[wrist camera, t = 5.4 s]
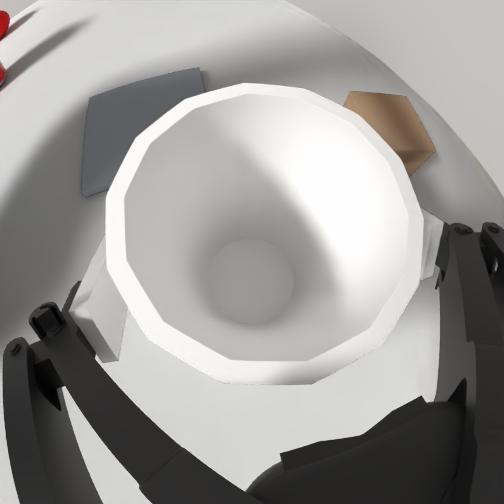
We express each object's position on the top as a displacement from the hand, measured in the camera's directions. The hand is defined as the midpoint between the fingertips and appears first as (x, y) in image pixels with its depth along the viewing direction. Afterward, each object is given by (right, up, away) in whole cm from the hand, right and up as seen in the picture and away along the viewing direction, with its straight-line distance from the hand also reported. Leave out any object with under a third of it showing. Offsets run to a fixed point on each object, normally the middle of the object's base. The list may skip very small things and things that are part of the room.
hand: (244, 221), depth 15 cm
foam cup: (0, -4, +5) cm, 6 cm away
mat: (-9, +10, +8) cm, 16 cm away
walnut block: (+11, +8, +9) cm, 16 cm away
